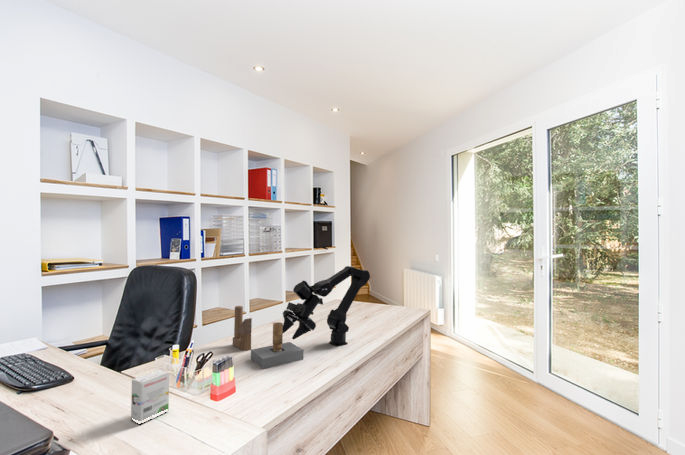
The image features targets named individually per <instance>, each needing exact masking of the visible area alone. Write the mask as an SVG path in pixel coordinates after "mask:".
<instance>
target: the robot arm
mask: <svg viewBox="0 0 685 455" xmlns="http://www.w3.org/2000/svg"><path fill="white" fill-rule="evenodd" d="M370 274H371V273H370V272H369V270H365V269H360V268H356V267H354V266H349V265H347V266H345V267H344V268H343V269H341V270H340V271H338V272H336V273H335V274H333V275H331V276H330V277H329V278H327V279H323V280H320V281H317V282H315V283H314V284H313V285H310V284H309V283H308V282H307V281H306V280H302V281H301V282H299V283H297V284H295V286H294V287H293V289H292V290H293V292H294V293H295V295H296V296H297V297H298V298H299V299H300V300H301V301H303V302H302V303H301V302H297V303H292V302H290V301H289V302H288V303H287V306H286V308H285V310H284V311H283V312H282V313H281V314H282V317H283V334H285V333H286V332H288V330H289V329H291V327H292V326H294V325H295V323H296V322H298V327H297V328H296V330H295V332H294V333H293V335H292V340H296V339H297V338H299V337H301V336H302V335H304V334H307V333H308V332H311V331H314V330H315V329H316V327H317V324H316V322H315V321H313V319H312V318H311V317H310V316H313V315H314V314H315V313H314V310H315V309H316V308H317V306H318V305H322V306H323V305H324V301H323V298H325V297H327V296H329V294H330V293H331V292H332V291H333V289H334V288H335V287H336V286H338V285H339V284H341V283H342V282H343V281H345V280H347V279H348V278H349V277H351V283H350V285H349V286H348V289H347V291H346V292H345V294H344V296H343V298H342V300H341V301H340V303H339V305H338V306H337V308H336V309H332V308H331V310H330V311H329V314H328V315H327V319H326V323H327V326H328V328H329V330H331V334H330V341H329V344H331V345H334V346H335V347H340V346H344V345H348V342H347V340H346V339H347V337H346V336H347V334H346V333H348V332H349V328H350V326H348V324H346V321H347V313H348V311H349V309H350V308H351V306H352V304H353V302H354V300H355V298H356V296H357V295H358V293H359V291H360V289H361V288H363V287H364V286H366V284H368V282H369V281H370V278H371V276H370ZM322 297H323V298H322Z"/></svg>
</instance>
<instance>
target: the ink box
mask: <svg viewBox="0 0 685 455" xmlns="http://www.w3.org/2000/svg"><path fill="white" fill-rule="evenodd" d="M169 393H170V372H167V371H165V370H162V369H159V370H155V371H153V372H149V373H147V374H144V375H141V376H139V377H135V378H133V379H131V397H130V398H131V404H130V406H131V407H130V410H131V411H130V412H131V413H130V419H131V418H133V419H135V420H138V421H142V420H144V419H146V418H148V417H150V416H152V415H155V414H157V413H159V412H161V411H164V410H166V409H168V410H169V404H170V403H169V402H170V394H169Z"/></svg>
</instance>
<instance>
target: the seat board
mask: <svg viewBox="0 0 685 455" xmlns="http://www.w3.org/2000/svg"><path fill="white" fill-rule="evenodd" d="M250 360H251V361H252V362H253V363H255V365H257V366H258V367H260V369H262V370H264V369H268V368H273V367H278V366H281V365H285V364H289V363H294V362H298V361H302V360H304V349H303V348H301V347H299V346H298V345H296V344H294V343H293V342H291V341H287V342H282V351H280V352H276V353H274V351H273V344H272V345H267V346H262V347H258V348H253V349H252V348H251V349H250Z"/></svg>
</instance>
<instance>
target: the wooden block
mask: <svg viewBox="0 0 685 455" xmlns="http://www.w3.org/2000/svg"><path fill="white" fill-rule="evenodd" d="M243 312H244V307H243V306H242V305H236V306H234V322H233V323H234V325H233V326H234V327H233V328H234V329H233V335H234V336H233V337H232V346H233V347H235V348H237V349H240V350H242V351H243V352H246V351H251V350H252V326H253V323H252V319H253V318H252V317H249V318H245V319H244V320H243V317H244V316H243Z"/></svg>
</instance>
